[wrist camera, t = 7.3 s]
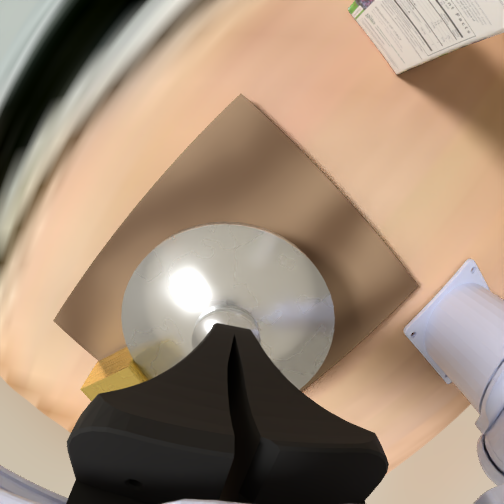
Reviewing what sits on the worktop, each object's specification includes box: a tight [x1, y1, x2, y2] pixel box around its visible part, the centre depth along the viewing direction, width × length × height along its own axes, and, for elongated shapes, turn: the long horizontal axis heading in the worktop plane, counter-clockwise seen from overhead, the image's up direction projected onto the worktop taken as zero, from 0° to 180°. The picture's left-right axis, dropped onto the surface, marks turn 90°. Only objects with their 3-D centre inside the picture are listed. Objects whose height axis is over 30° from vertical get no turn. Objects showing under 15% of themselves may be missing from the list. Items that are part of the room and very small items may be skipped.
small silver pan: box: [81, 221, 335, 401], centre depth 18 cm, size 16×12×4 cm
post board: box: [53, 94, 418, 392], centre depth 19 cm, size 17×20×5 cm
